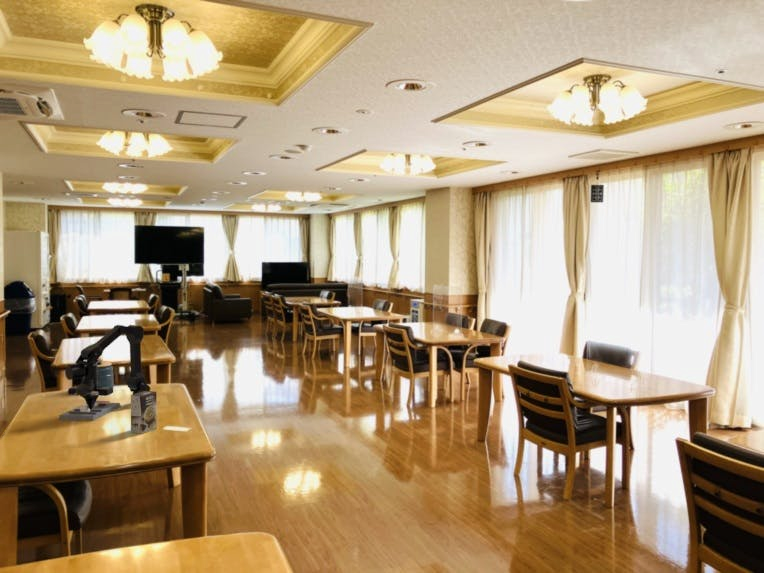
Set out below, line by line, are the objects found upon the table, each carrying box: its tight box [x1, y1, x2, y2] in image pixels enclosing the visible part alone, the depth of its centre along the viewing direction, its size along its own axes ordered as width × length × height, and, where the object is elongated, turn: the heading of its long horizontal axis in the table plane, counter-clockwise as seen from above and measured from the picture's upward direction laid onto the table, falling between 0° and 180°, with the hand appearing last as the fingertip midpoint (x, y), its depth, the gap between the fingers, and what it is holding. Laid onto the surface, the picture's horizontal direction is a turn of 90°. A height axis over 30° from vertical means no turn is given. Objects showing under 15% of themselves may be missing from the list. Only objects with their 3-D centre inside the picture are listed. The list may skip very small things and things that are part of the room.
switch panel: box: [58, 402, 121, 422], centre depth 277 cm, size 16×23×3 cm
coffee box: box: [130, 390, 158, 435], centre depth 251 cm, size 9×6×16 cm
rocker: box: [95, 400, 111, 403], centre depth 282 cm, size 4×7×1 cm, turn 175°
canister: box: [97, 357, 115, 389], centre depth 320 cm, size 13×13×18 cm
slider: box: [79, 403, 90, 412], centre depth 270 cm, size 3×3×3 cm
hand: (91, 409), depth 270 cm, fingers closed
